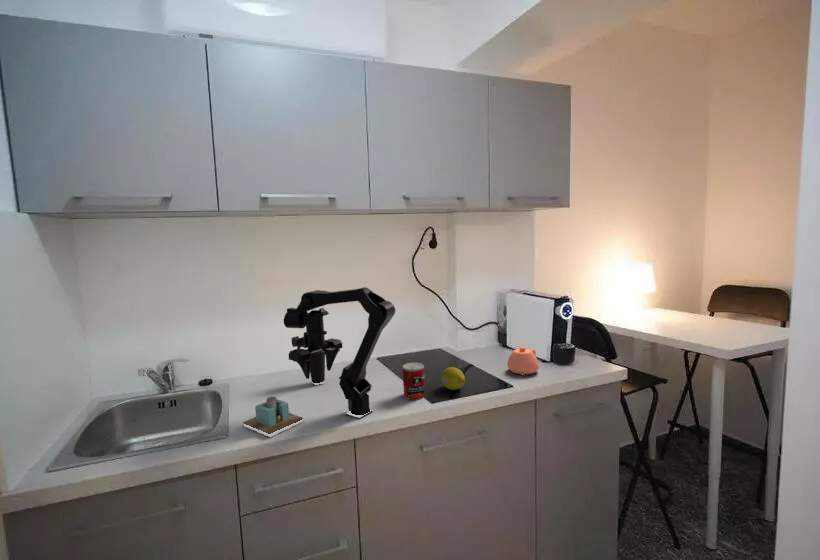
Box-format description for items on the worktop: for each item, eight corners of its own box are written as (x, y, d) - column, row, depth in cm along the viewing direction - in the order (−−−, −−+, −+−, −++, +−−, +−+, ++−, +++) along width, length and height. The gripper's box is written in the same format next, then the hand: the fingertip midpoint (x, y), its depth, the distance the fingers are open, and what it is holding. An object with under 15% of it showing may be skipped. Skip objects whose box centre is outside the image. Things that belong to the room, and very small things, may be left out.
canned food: (407, 401, 140) (405, 370, 139) (401, 393, 148) (400, 363, 147) (428, 398, 142) (426, 367, 141) (421, 390, 150) (420, 361, 149)
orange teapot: (501, 371, 166) (500, 347, 165) (524, 364, 174) (523, 340, 173) (524, 379, 156) (524, 353, 155) (548, 371, 163) (547, 346, 162)
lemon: (437, 386, 153) (436, 365, 152) (456, 383, 155) (455, 362, 155) (450, 396, 143) (449, 374, 142) (470, 392, 145) (469, 370, 144)
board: (303, 422, 128) (301, 396, 127) (270, 438, 118) (267, 410, 117) (276, 412, 136) (274, 388, 135) (243, 426, 126) (240, 400, 126)
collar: (289, 418, 128) (288, 402, 127) (269, 427, 122) (268, 411, 122) (275, 413, 132) (274, 398, 131) (256, 421, 126) (255, 406, 126)
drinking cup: (304, 384, 162) (301, 335, 160) (321, 378, 167) (317, 331, 165) (315, 388, 157) (311, 337, 155) (331, 382, 162) (328, 333, 160)
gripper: (320, 321, 147) (323, 363, 148) (276, 332, 132) (280, 379, 133) (342, 324, 140) (345, 367, 142) (298, 336, 125) (302, 384, 127)
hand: (318, 374), depth 136 cm, fingers open, 9 cm apart
